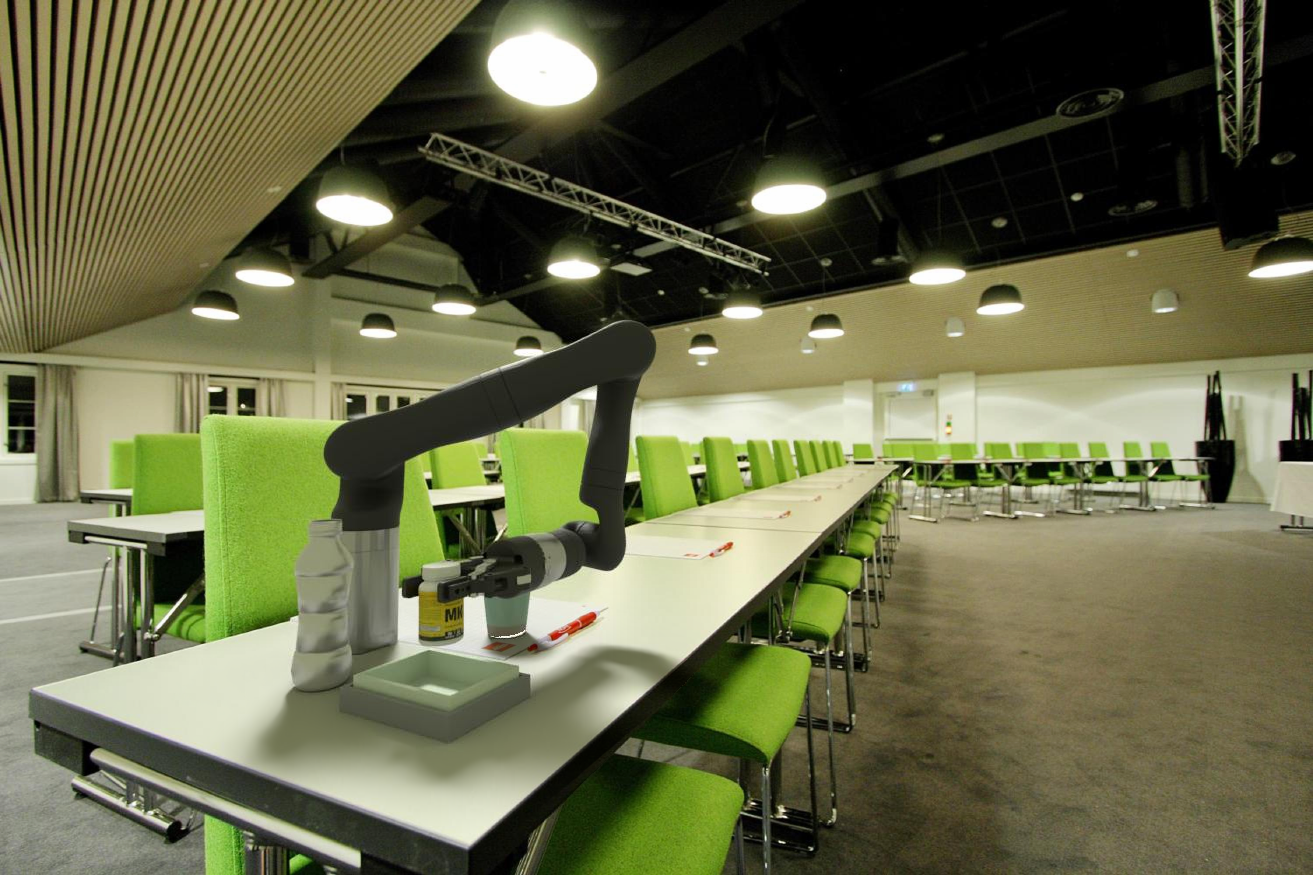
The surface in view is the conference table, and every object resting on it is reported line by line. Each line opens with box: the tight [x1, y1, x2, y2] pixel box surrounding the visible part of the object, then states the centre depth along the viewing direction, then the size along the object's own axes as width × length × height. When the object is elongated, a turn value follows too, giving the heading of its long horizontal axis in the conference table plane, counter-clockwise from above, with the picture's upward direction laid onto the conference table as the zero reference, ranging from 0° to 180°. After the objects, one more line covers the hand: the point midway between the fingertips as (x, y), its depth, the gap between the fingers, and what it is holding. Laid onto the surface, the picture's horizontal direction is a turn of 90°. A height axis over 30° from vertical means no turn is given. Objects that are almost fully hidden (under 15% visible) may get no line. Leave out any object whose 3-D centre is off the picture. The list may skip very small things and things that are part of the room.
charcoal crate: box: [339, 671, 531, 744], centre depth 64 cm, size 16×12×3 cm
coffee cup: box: [483, 592, 531, 637], centre depth 92 cm, size 8×9×12 cm
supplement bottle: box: [418, 561, 465, 647], centre depth 64 cm, size 5×5×8 cm
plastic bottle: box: [290, 518, 354, 693], centre depth 70 cm, size 6×7×20 cm
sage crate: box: [352, 647, 520, 713], centre depth 64 cm, size 14×10×4 cm
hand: (422, 591), depth 62 cm, fingers closed on supplement bottle, 4 cm apart
